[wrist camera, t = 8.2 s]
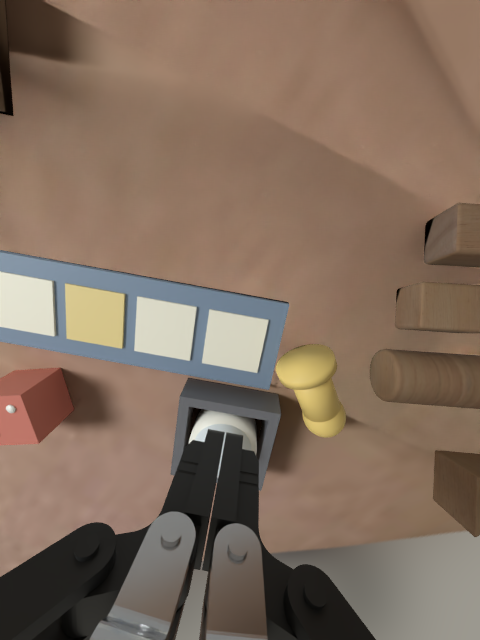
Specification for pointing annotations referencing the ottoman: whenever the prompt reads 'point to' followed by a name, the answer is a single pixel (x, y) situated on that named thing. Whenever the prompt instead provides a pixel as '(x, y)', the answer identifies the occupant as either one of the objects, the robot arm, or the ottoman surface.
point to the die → (32, 405)
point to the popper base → (230, 403)
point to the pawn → (314, 387)
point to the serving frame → (4, 66)
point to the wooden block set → (441, 354)
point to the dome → (225, 428)
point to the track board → (139, 320)
